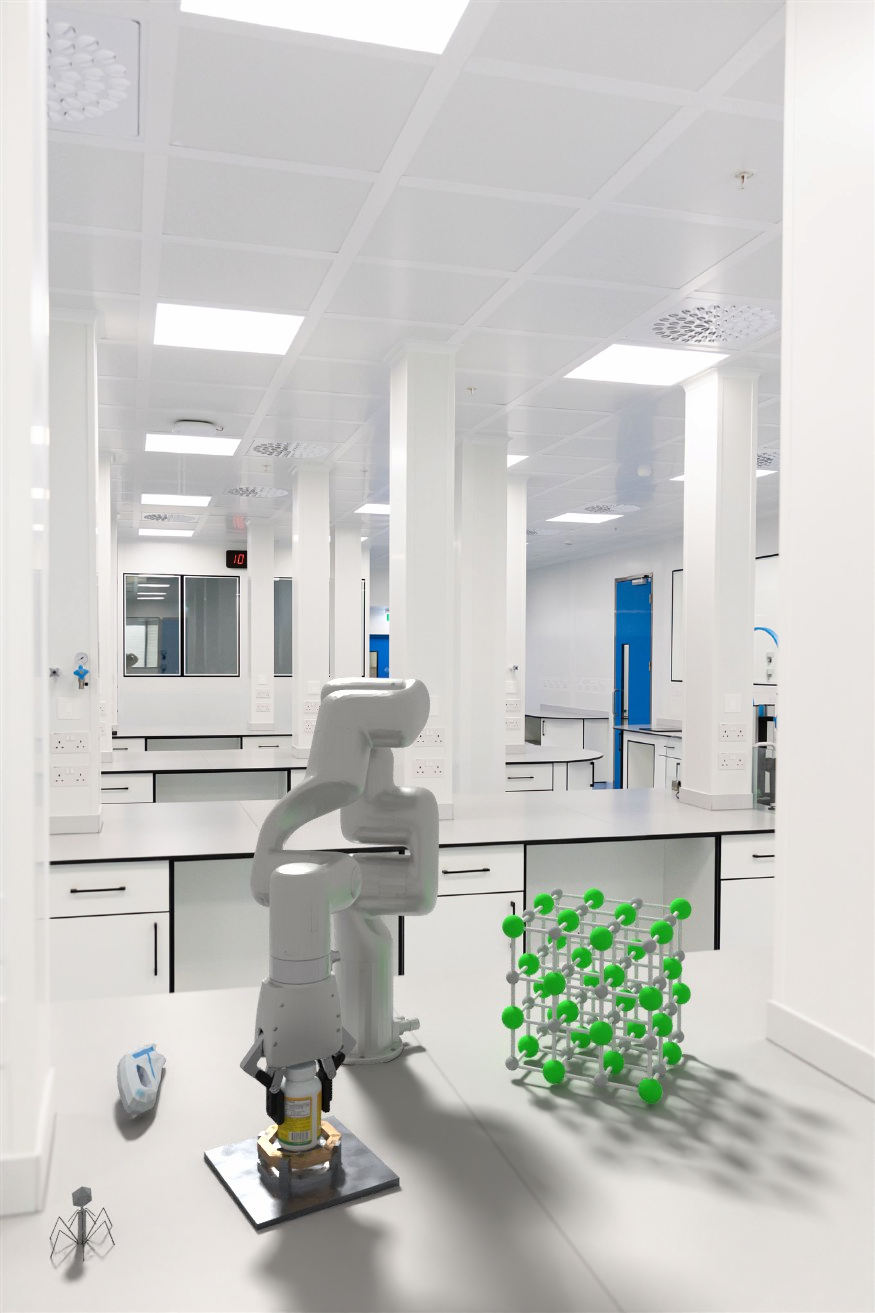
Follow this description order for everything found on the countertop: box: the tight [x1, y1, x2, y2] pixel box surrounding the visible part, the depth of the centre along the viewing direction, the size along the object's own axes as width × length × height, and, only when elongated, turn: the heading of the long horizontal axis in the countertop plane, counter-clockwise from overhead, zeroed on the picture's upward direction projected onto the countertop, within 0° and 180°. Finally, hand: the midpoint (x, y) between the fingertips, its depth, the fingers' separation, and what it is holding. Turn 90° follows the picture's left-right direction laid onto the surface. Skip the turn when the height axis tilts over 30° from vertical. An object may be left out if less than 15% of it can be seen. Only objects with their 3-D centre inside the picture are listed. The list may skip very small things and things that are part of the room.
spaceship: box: [116, 1043, 167, 1116], centre depth 141 cm, size 23×7×4 cm
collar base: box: [203, 1115, 401, 1231], centre depth 120 cm, size 18×18×4 cm
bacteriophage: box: [49, 1186, 115, 1262], centre depth 105 cm, size 7×8×7 cm
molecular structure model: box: [501, 887, 693, 1105], centre depth 153 cm, size 24×25×24 cm
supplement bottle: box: [278, 1060, 322, 1151], centre depth 119 cm, size 5×5×10 cm
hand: (299, 1113), depth 120 cm, fingers closed on supplement bottle, 5 cm apart
